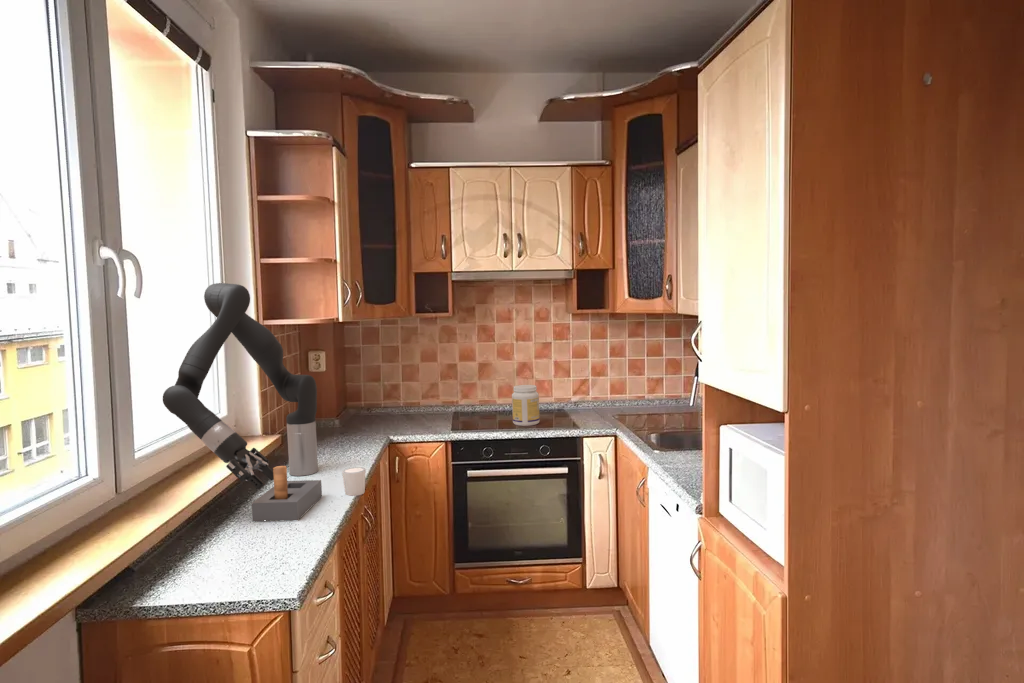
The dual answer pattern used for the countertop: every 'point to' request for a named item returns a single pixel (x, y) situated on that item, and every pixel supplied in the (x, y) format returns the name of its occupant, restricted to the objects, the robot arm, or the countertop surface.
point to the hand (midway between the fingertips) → (268, 482)
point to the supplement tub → (525, 405)
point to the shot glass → (354, 481)
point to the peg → (280, 482)
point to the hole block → (287, 501)
